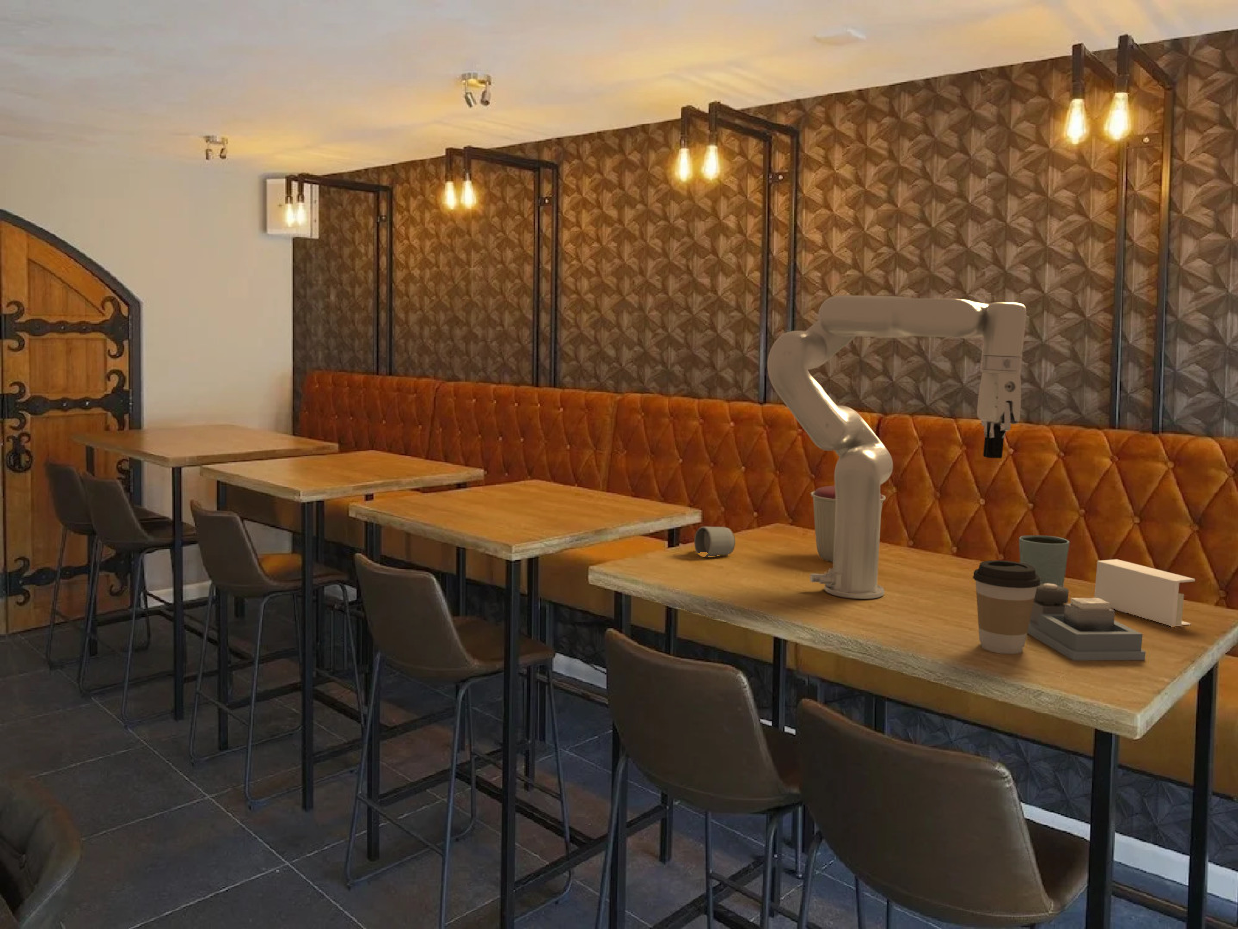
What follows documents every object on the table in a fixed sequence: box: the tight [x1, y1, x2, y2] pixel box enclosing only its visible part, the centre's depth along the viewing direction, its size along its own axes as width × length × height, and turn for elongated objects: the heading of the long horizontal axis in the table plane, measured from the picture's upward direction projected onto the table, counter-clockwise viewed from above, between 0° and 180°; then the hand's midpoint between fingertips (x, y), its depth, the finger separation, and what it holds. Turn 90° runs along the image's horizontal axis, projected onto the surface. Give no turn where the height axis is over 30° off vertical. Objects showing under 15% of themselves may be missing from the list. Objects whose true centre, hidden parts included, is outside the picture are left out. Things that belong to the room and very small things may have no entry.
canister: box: [810, 485, 886, 563], centre depth 249 cm, size 18×18×21 cm
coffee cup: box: [972, 559, 1041, 655], centre depth 179 cm, size 11×11×15 cm
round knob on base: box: [1034, 583, 1070, 605], centre depth 191 cm, size 6×6×7 cm
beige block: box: [1064, 597, 1116, 632], centre depth 181 cm, size 5×6×7 cm
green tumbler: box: [1018, 534, 1070, 587], centre depth 221 cm, size 10×10×12 cm
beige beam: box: [1093, 558, 1196, 627], centre depth 206 cm, size 20×6×9 cm, turn 22°
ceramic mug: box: [693, 526, 736, 558], centre depth 254 cm, size 11×8×8 cm
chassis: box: [1027, 600, 1146, 661], centre depth 185 cm, size 13×22×6 cm, turn 5°
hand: (992, 457), depth 202 cm, fingers closed
